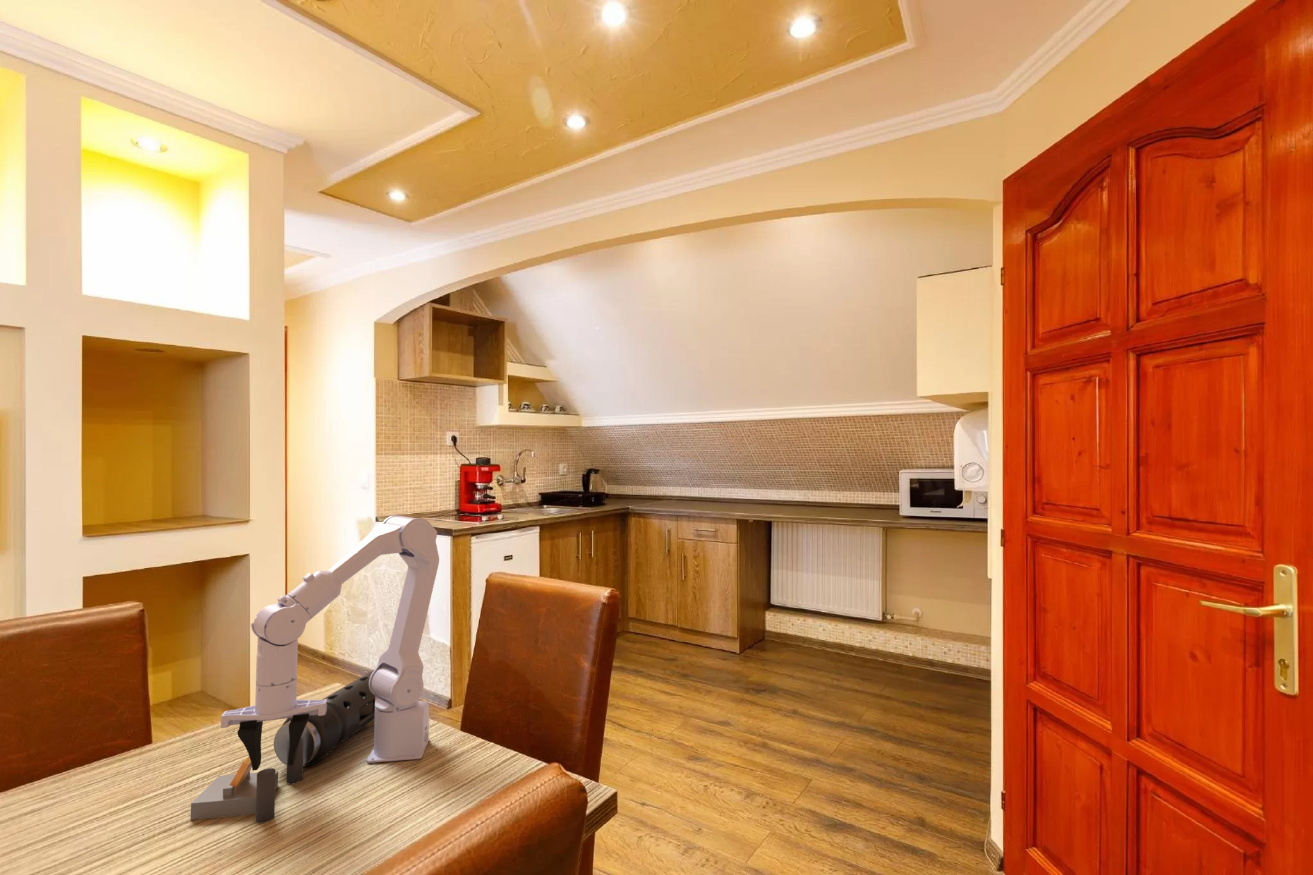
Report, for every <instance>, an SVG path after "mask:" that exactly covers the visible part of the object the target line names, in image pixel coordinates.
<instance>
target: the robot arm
mask: <svg viewBox="0 0 1313 875" xmlns="http://www.w3.org/2000/svg"><path fill="white" fill-rule="evenodd" d="M437 537H438V531H437V529H435V527H434V526H433V525H432V523H431V522H430V521H429V520H427V519H425V518H424V517H423V518H422V517H411V516H404V515H400V514H393V515H390V516H388V517H386V518H385V519H384V520H383V521H382V522H381V523H379V524H377V525H375V526H374V527H373V529H372V530H371V531H370V532H369V534H368V535H367V536H365V537H364V538H363V539H362V540H361V541H360V542H358V544H356V545H355V546H354V547H353V548H352V549H351V550H350V551H348V552H347V553H346V554H345V555H344V556H343V557H342V558H340V560H338V561H337V562H336V563H334V565H333V566H331V567H330V568H329V569H328V570H316V571H315V572H313V573H310V572H307V574H305V575H304V576H303V577H302V582H300V583H299V585H297V586H296V587H294V588H293V589H291V591H290V592H288V593H287V594H285V595H280V596H279V597H278V598H277V599H276V601H277V603H272V604H269V605H267V606H265V607H263V608H261V610H259V611H258V613H257V614H256V617H255V618H254V621H253V622H252V623H251V624H250V625H251V631H252V633H253V635H255V637H257V649H256V650H257V652H256V671H255V673H256V674H255V694H254V695H255V699H254V701H255V702H254V705H251V706H246V707H242V708H241V707H240V708H237V709H230V710H226V711H224V712H223V713H222V714H221V716H220V729H225V728H229V727H230V726H236V725H239V727H238V730H237V733H236V734H237V736H238V738H239V739H240V741H241V742H242V744H243V745H244V748H245V749H246V751H247V754H248V756H249V757H250V760H251V764H252V768H251V770H252V771H258V770H259V768H260V766H261V764H262V733H263V726H264V722H268V721H276V720H286V719H287V718H293V719H292V720H291V722H290V724H289V741H290V747H289V757H288V765H293V764H294V762H295V760H296V754H297V749H298V745H299V742H300V739H301V736H302V733H303V731H304V728H305V726H306V724H307V722H308V720H309V718H310V716H311V715H317V714H318V716H322V715H325V713H326V711H327V699H324V698H323V699H324V700H322V699H298V698H297V697H298V696H297V691H298V689H297V688H298V662H299V661H298V655H299V653H298V652H299V648H298V646H299V638H301V636H302V635H303V634H304V632H305V629H306V625H307V623H309V622H310V621H311V620H312V619H313V618H315V616H316V615H317V614H319V613H320V612H321V611H323V609H325V608H326V607H327V606H328V605H329V604H331V603H332V602H333V601H334V600H336V599H337V598H338V597H339V596H340V594H341V592H342V586H343V584H344V583H346V582H347V581H349V579H351V578H353V577H354V576H355V575H356V574H357V573H359V572H360V571H361V570H363V569H364V568H365V567H367V566H368V565H369V564H371V563H372V562H373V561H374V560H376V559H377V558H379V557H381V556H382V555H390V554H398V555H399V556H400V557H401V559H402V560H403V561H404V563H405V564H406V566H407V570H406V575H405V579H404V583H403V585H402V586H403V587H402V591H401V596H400V600H399V604H398V607H397V612H396V617H395V619H394V620H395V621H394V625H393V629H392V633H391V637H390V640H389V645H388V649H386V650H385V651H384V652H383V653H382V654H381V655H380V656H379V658H378V662H377V665H376V667H375V670H374V669H373V670H374V671H373V670H372V671H373V672H372V674H371V676H370V679H369V689H370V691H371V693H372V694H373V695H375V719H374V727H373V728H374V730H373V732H374V735H373V738H374V739H373V748H372V750H371V752H370V754H369V756H368V758H367V759H366V763H368V764H371V763H373V764H374V763H384V762H396V761H409V760H420V759H422V758H423V756H424V753H425V751H426V748H427V746H428V743H429V741H430V736H429V732H430V731H429V730H430V704H429V701H425V700H423V701H422V700H419V699H420V698H421V697H422V694H423V691H424V686H425V684H424V679H423V672H424V671H423V670H424V664H423V662H422V660H421V657H420V654H419V650H420V646H421V642H422V638H423V633H424V630H425V624H426V620H427V616H428V612H429V608H430V603H431V600H432V594H433V591H434V586H435V581H436V577H437V573H438V569H439V564H440V556H439V555H440V554H439V551H438V547H437Z"/></svg>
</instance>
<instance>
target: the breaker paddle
mask: <svg viewBox="0 0 1313 875" xmlns="http://www.w3.org/2000/svg"><path fill="white" fill-rule="evenodd" d="M251 770H252V764H251V760H250V757H249V755H248V756H247V757H246V758H245V759H244V761H242V762H241V765H240V766H239V768H238V770H237V771H236V773H235V774H234V775H235V777H234V778H233V780H232V782H231V784H230V785H229V786H231V785H234V790H235V789H236V788H237V787H238V786H239V785H240V784H241V783H242V782H243V781H244V779H245V778H246V777H247V775H248V773H249V771H250V772H251Z"/></svg>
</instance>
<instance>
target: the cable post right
mask: <svg viewBox="0 0 1313 875" xmlns="http://www.w3.org/2000/svg"><path fill="white" fill-rule="evenodd" d="M303 740H304V737H303V736H301V739H300V742H299V745H298V749H297V754H296V760H295V762H294V764H293V765H288V757H289V747H290V741H289V739H288V740H287V765H286V778H285V779H286V780H285V781H286V784H287V785H294V784H297V783H300V782H302V780H303V779H304V778H303V776H304V766H303Z"/></svg>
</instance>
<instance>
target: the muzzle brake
mask: <svg viewBox="0 0 1313 875" xmlns="http://www.w3.org/2000/svg"><path fill="white" fill-rule="evenodd" d="M374 670H375V669H373V670H371V671H370V672H369V671H368V673H366V674H364V675H362V676H361V677H358V678H357V679H355V680H353V681H352V682H350V683H348V684H346V685H344V686H343V687H341V688H340V689H337V690H336V691H334V692H332V693H331V694H329V695H328V696H325V697H324V698H322V699H321V700H324V699H327V711H326V713H325V715H322V716H318V714H317V715H311V716H310V718H309V720H308V722H307V724H306V726H305V728H304V731H303V733H302V736H303V737H304V740H303V767H305V766H306V767H307V766H311V765H314V764H315V763H318V762H319V761H320V760H321V759H323V758H324V757H326V756H327V755H329V754H330V753H331V752H332V751H333V750H334V749H335V748H336V747H337V746H339V745H340V744H342V743H343V742H344V741H346V740H347V739H348V738H350V737H352V735H354V734H356V733H357V732H358V731H359V730H361V729H363V728H364V727H365V726H367V725H369V724H370V723H371V722H372V721H375V695H373V694H372V693H371V691H370V689H369V679H370V676H371V674H372V672H373V671H374ZM292 719H293V718H286V719H285V720H284V722H283V723H282V725H281V726H280V727H279V728H278V730H277V731H276V733H275V735H274V738H273V750H274V753H275V755H276V757H277V758H278V760H279V761H280V762H281V763H282V764H284V765H285V766H287V740H288V739H289V724H290V722H291V720H292Z"/></svg>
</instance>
